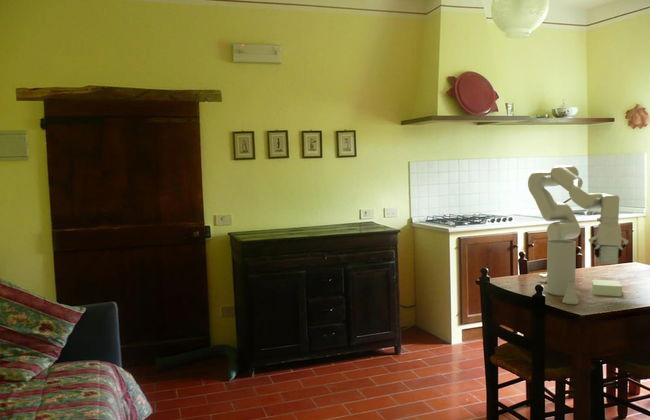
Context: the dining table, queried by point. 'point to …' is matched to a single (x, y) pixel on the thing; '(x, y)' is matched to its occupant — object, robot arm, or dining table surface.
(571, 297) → the flask
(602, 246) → the medicine box
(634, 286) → the dining table surface
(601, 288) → the sage block
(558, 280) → the cylinder vase
